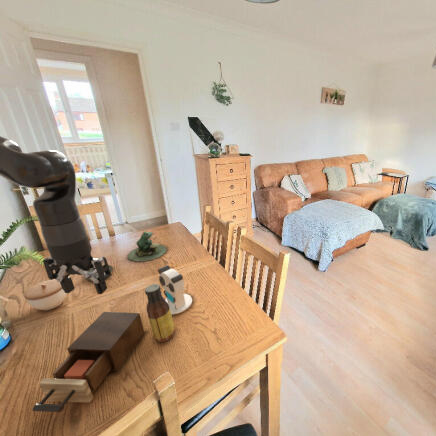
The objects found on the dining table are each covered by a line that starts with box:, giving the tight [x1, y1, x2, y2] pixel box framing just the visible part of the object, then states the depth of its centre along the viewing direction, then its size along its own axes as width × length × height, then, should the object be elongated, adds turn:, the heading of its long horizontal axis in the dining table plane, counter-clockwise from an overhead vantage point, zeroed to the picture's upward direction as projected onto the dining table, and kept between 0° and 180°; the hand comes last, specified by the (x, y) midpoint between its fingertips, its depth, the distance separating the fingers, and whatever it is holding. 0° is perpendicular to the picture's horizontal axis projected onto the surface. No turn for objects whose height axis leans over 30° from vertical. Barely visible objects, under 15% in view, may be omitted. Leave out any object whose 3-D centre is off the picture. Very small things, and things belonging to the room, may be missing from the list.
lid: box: [83, 264, 114, 282], centre depth 107 cm, size 11×10×5 cm
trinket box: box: [23, 279, 67, 311], centre depth 89 cm, size 11×11×9 cm
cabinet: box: [66, 311, 145, 372], centre depth 73 cm, size 14×12×9 cm
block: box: [64, 360, 95, 383], centre depth 63 cm, size 4×4×4 cm
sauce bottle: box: [144, 283, 176, 343], centre depth 76 cm, size 6×6×20 cm
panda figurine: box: [157, 264, 193, 315], centre depth 91 cm, size 12×11×15 cm
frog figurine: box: [127, 230, 168, 262], centre depth 126 cm, size 18×18×12 cm
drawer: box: [31, 351, 113, 413], centre depth 62 cm, size 17×10×7 cm, turn 0°
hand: (86, 291), depth 63 cm, fingers open, 8 cm apart
